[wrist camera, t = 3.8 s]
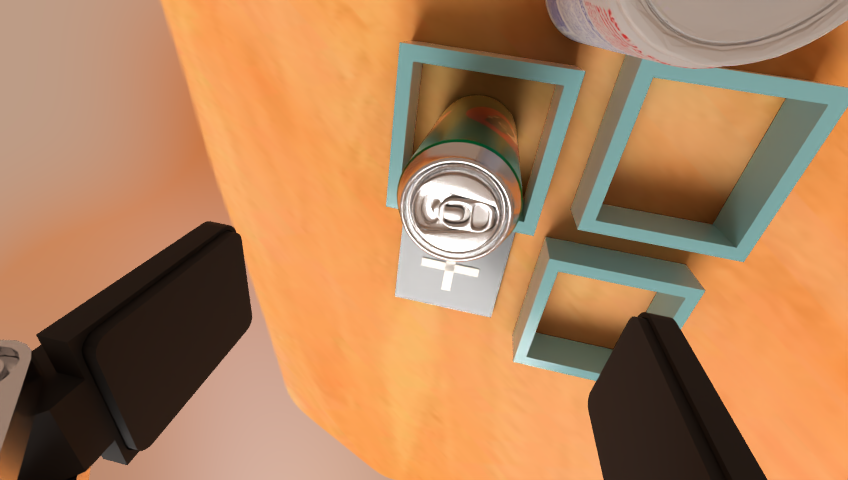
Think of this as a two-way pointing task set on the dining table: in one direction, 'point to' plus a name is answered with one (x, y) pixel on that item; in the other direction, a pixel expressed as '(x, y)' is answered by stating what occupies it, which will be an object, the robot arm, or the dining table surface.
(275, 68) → the dining table surface
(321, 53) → the dining table surface
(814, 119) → the dish
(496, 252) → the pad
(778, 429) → the dining table surface
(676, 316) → the dish
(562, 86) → the dish
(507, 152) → the soda can
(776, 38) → the beverage can
